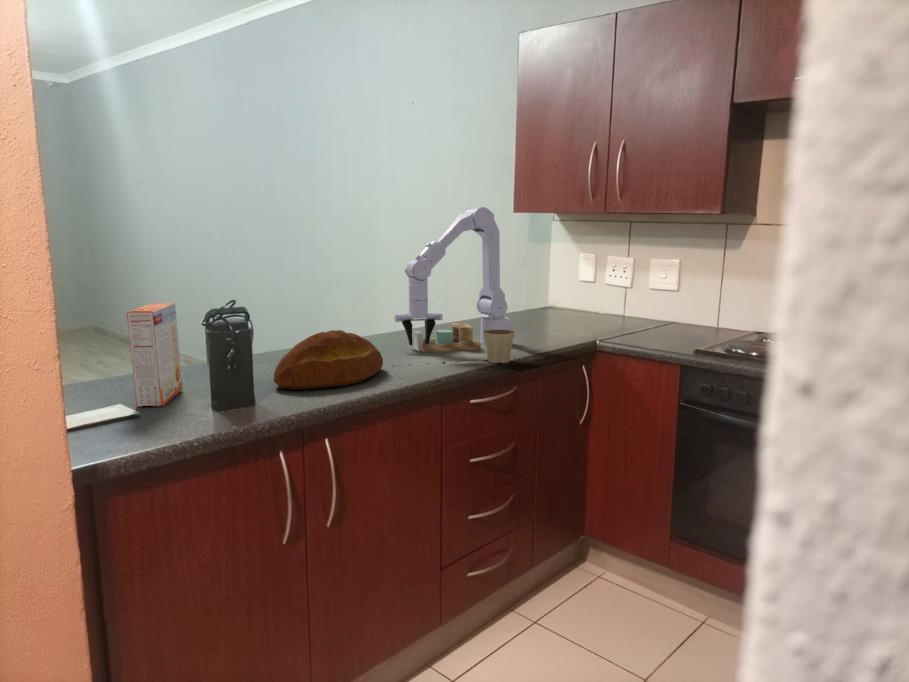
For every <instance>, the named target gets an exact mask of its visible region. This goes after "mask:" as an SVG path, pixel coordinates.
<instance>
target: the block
mask: <svg viewBox="0 0 909 682" xmlns="http://www.w3.org/2000/svg"><path fill="white" fill-rule="evenodd" d="M434 334H435V338H434V339H435V344H438V343H453V332H452V329H437V330H435V333H434Z"/></svg>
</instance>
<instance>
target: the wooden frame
mask: <svg viewBox="0 0 909 682" xmlns="http://www.w3.org/2000/svg"><path fill="white" fill-rule="evenodd" d="M451 331H452V332H453V342H454V343H438V344H435V338H430V339H429V344H425V338H423V344H422V351H421V352H422V353H432V352H434V353H435V352H453V351H471V350H473V351H475V350H476V351H477V350H481V345H482V343H481V341H473V339H474V337H473V336H474V332H473V331H474V328H473V326H472V325H469V324H467V323H466V322H452V323H451Z"/></svg>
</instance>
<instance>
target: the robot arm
mask: <svg viewBox="0 0 909 682" xmlns="http://www.w3.org/2000/svg"><path fill="white" fill-rule="evenodd" d="M496 222H497V221H495V214H494V212H492V211H491V210H490V209H489V208H488V207H485V206H482V207H467V208H465V209H463V210H462V212H461V213H460V214H458V215H457V216H456V218H455V220H454V221H453V222H452V223H451V224H450V225H449V226H448V228H447V229H446V230H445V232H444V233H443V234H442V235H441V236H440V238H439V239H437V240H436V241H435V240H432V241H430V242H427V243H426V244H425V248H424V249H422V251H421V252H420V253H419V254H416V255H415V259H413V260H410V261H409V262H408V263H407V265H406V268H405V269H404V272H405V275H406V276H407V278H408V313H402V314H393V315H394V319H393V320H394V322H395V323H401V324H402V326H403V328H404V331H405V333H406V337H407V341H408V345H409V346H413V323H412V322H419V321H420V322H421V321H423V322H424V330H425V331H424V334H425V335H424V339H425V344H429V339H431V335H432V332H433V330H434V328H435V326H436V323H437V322H436V321H443V314H442V313H440V312H437V313H435V312H434V313H433V312H431V313H429V299H428V297H429V295H428V293H429V290H428V288H429V285H428V284H429V282H428V280H429V279H428V278H429V277H430V276H431V274H432V270H433V269H434V267H435V266H437V264H438V263H439V262H440V261H441V260H442V259H443V258H444V257H445V255H446V254H447V253H446V250H447V248H448V247H449V246H450V245H451V244H452V243H453V242H454V241H455V240H456V239H457V238H459V236H461V235H462V234H463V233H464V232H466V231H467V232H468V231H474V232H475V233H476V234H477V235H478V236H479V237H481V239H482V240H481V241H482V245H481V247H482V288H481V290H480V291H479V292H478V293H479V294H478V300H477V302H476V308H477V311H478V312H479V313H480V314H479V315H480V342H481V344H485V345H486V342H485V338H484V333H483V331H484V330H490V329H505V330H512V324H511V318H509V317H507V316H505V315H506V314H507V311H508V303H507V301H506V297H505V295H506V294H505V292H504V291H503V290H502V288H501V266H500V265H501V264H500V261H501V259H500V253H501V249H500V245H501V244H500V242H501V241H500V238H501V237H500V229H499V227H498V224H497V223H496Z"/></svg>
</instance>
